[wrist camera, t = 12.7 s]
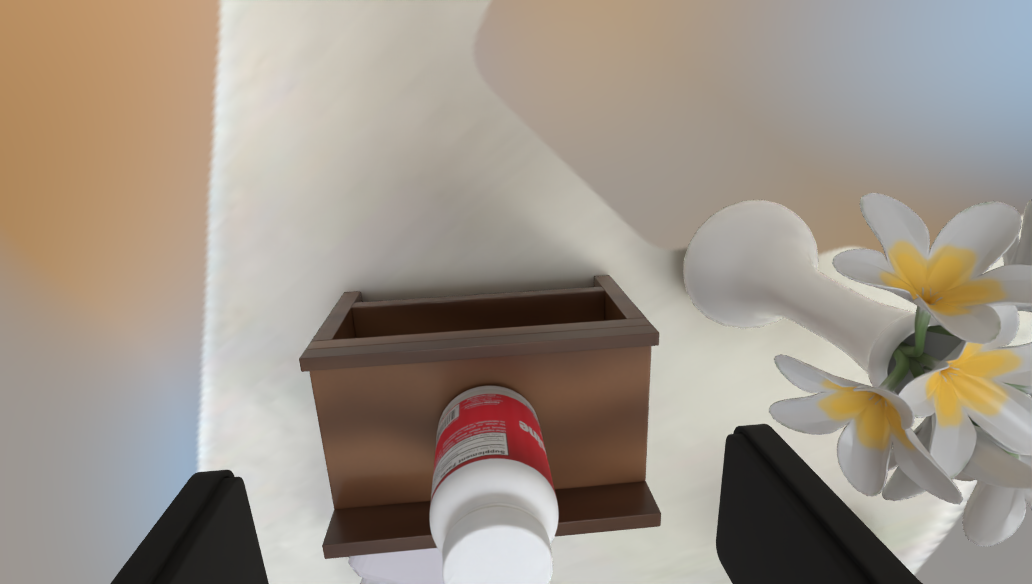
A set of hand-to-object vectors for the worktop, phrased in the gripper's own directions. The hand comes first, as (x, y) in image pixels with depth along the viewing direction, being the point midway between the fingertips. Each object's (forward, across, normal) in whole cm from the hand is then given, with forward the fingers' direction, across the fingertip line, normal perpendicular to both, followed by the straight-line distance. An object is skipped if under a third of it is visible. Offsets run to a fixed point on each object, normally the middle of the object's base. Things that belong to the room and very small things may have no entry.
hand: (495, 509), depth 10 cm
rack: (+30, 0, +11) cm, 32 cm away
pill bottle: (+20, 0, +11) cm, 23 cm away
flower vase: (+31, -20, +4) cm, 37 cm away
